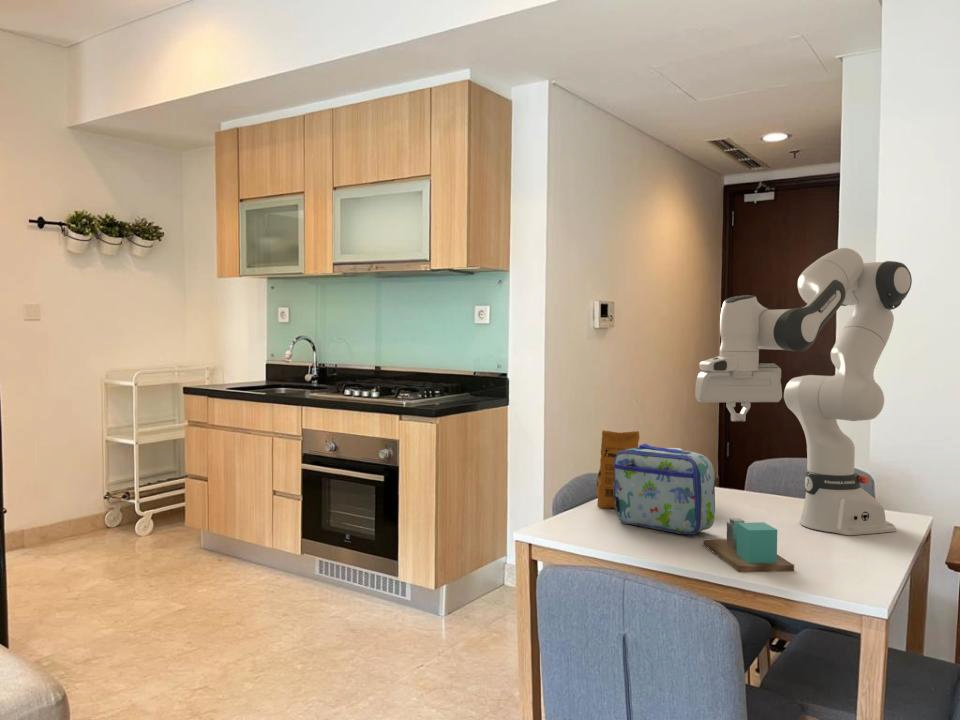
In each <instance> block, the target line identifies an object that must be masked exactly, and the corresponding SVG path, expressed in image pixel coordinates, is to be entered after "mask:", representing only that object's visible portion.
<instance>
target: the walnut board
mask: <svg viewBox="0 0 960 720" xmlns="http://www.w3.org/2000/svg"><path fill="white" fill-rule="evenodd" d="M702 541H703V543H702V545H703V544H704V545H705V546H706V548H707V547H708V548H709V549H710V550H709V549H708V548H707V549H708V550H709V551H710V552H712V551H713V552H714V553H713V552H712V553H713V554H715V555H716V556H717V555H718V556H719V558H720V559H721V560H722V561H724V563H726V564H728V565H729V566H730V567H731V568H732V569H734V570H735V571H737V572H738V573H750V572H751V573H754V572H755V573H756V572H757V573H759V572H789V571H790V572H793V571H795V564H793V563H791V562H790V561H788V560H786V559H785V558H783V557H782V556H781V555H779V554H777V563H747V562H746V561H745V560H743V559H742V558H740V557H739V556H738V555H736V554H737V548H732V547H731V546H730V545H728V544H727V538H724V539H723V538H720V539H703V540H702ZM704 545H703V546H704ZM705 546H704V547H705ZM718 556H717V557H718Z"/></svg>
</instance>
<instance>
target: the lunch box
mask: <svg viewBox="0 0 960 720" xmlns="http://www.w3.org/2000/svg"><path fill="white" fill-rule="evenodd" d="M669 448H670V447H658V446H651V445H650V444H647V443H642V444H638V447H637V448H633V449H627V450H622V451H619V452H618V453H617V454H616V456H615V460H614V471H615V476H614V483H613V485H614V492H613V501H615V508H614V510H615V512H616V515H617V517H618V519H619V521H620V523H622V524H624V525H630V524H631V525H630V526H638V527H643V528H648V529H653V530H658V531H664V532H669V533H675V534H680V535H688V536H689V535H690V536H692V535H696V534H697V533H699V532H702V531H705V530H709V529H710V528H711V527H713V525H714V521H715V516H716V515H715V513H716V508H715V507H716V500H715V499H716V494H715V492H716V490H715V489H716V488H715V486H716V485H715V471H714V470H715V469H714V466H713V463H712V462H711V460H710V459H709V458H708V457H707V456H705V455H703V454H701V453H698V452H694V451H689V450H683V449H682V450H677V449H669Z"/></svg>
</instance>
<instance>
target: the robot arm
mask: <svg viewBox="0 0 960 720" xmlns="http://www.w3.org/2000/svg"><path fill="white" fill-rule="evenodd" d="M912 283H913V279H912V274H911V272H910V269H909V268H908V266H907V265H906V264H905V263H902V262H900V261H892V260H885V261H881V262H880V261H879V262H877V261H876V262H875V261H874V262H864V260H863V258H862V256H861V254H859V253H858V252H857V251H855V250H854V249H851V248H848V247H841V248H837V249H834V250H832V251H831V252H828V253H826V254H824V255H823V256H820V257H819V258H818V259H816V260H815V261H814V262H812V263H811V264H810V265H808V266H807V267H806V268H805V269H804V270H803V271H802V272H801V273H800V275H799V276H798V279H797V290H798V294H799V296H800V297H801V299H802V300H803V301H804V302H805V303H806V305H805V306H802V307H796V308H788V309H787V308H786V309H768V308H767V307H765V306H764V305H762V304H760V302H759V301H758V299H757V296H755V295H752V294H744V295H735V296H731V297H728V298H726V299H725V300H724V301H723V303H722V307H721V311H720V318H719V319H720V320H719V335H720V338H721V343H720V346H719V355H717V356H715V357H712V358H709V359H706V360H702V361H700V362H699V370H701V371H700V372H699V373H698V374H697V376H696V379H695V388H694V390H695V391H694V399H696V401H697V402H699V403H711V404H712V403H726V404H725V405H726V408H727V410H728V412H729V413H730V421H731V422H746V417H747V416H746V415H747V413H748V412H749V411H750V409H751V403H779V402H780V401H781V400H782V398H783V400H784V402H785V405H786V407H787V408H788V409H789V410H790V411H791V412H792V413H793V414H794V415H795V417H796V418H797V419H798V421H799V423H800V425H801V428H802V430H803V433H804V436H805V441H806V453H807V454H806V455H807V458H806V459H807V460H806V461H807V462H806V463H807V467H806V468H807V469H805V473H804V488H805V489H804V490H805V499H804V504H803V509H802V512H801V517H800V520H799V524H800V525H801V526H803V527H806V528H808V529H812V530H817V531H821V532H826V533H827V532H828V533H833V534H836V533H837V534H839V535H840V534H841V535H844V536H858V535H867V534H868V535H870V534H871V535H872V534H880V533H881V534H882V533H891V532H893V533H894V532H896V531H897V530H896V526H895V524H893V523H891V522H889V521H887V520H886V512H885V509H884V506H883V504H882V503H881V502H880V501H879V500H877V499H876V498H874V497H873V496H872V495H871V494H869V493H868V492H867V491H866V490H864V489H863V488H862V487H861V484H863V485H868V484H869V483H870V481H871V480H870V478H869V476H866V475H862V474H860V475H859V474H857V473H856V472H855V453H856V452H855V449H856V448H855V444H854V441H853V440H852V439H851V437H850V436H848V435H846V434H845V433H844V432H843V431H842V430H841V428H840V427H839V424H838V421H837V420H841V421H850V422H858V421H869V420H874V419H876V418H877V417H878V416H879V415H880V413H881V412H882V411H883V409H884V405H885V395H884V392H883V390H882V388H881V385H879V384H878V383H877V382H876V381H875V377H874V375H875V374H874V372H875V369H876V366H877V364H878V362H879V359H880V358H881V355H882V353H883V351H884V349H885V347H886V345H887V343H888V341H889V339H890V336H891V333H892V330H893V326H894V321H895V317H894V314H893V312H892V310H895V309H896V308H899V307H900V306H901V304H902V302H903V301H904V300H905V298H907V295H908V294H909V292H910V290H911V288H912ZM841 306H842V307H846V306H854V307H853V308H854V309H853V313H852V315H851V317H850V318H849V319H848V321H847V322H846V323H845V325H844V326H843V328H842V330H841V332H840V334H839V335H838V337H837V339H836V341H835V343H834V345H833V347H832V348H831V350H830V360H831V362H832V364H833V366H834V367H835V368H836V369H837V371H838V372H837V373H836V374H834V375H817V374H816V375H815V374H807V375H801V376H796V377H793V378H791V379H790V380H789V381H788V382H787V383H786V384H785V385H786V386H785V388H784V392H783V391H782V390H783V389H782V383H781V379H782V369H781V367H780V366H779V365H777V364H776V363H773V362H772V363H763V362H762V363H761V362H759V360H760V359H759V357H760V356H759V355H760V353H759V352H760V350H774V351H776V350H779V351H781V350H782V351H790V352H797V353H798V352H799V353H800V352H804V351H807V350H808V349H809V348H811V346H813V344H814V343H815V342H816V340H817V338H818V336H819V333H820V331H821V330H822V329H823V327H824V326H825V325H826V324H827V322H828V321H830V320H831V318H832V317H833V316H834V314H835V313H836V312H837V311H838V310H839V309H840V308H841ZM736 403H740V406H741V407H742V408H741V410H740V412H739V413H737V412H736V411H735V407H736Z"/></svg>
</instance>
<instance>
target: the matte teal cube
mask: <svg viewBox="0 0 960 720" xmlns="http://www.w3.org/2000/svg"><path fill="white" fill-rule="evenodd" d="M736 555H738V556H739V557H740V558H742V559H743V560H745V561H746V562H747V563H777V555H778V529H777V528H775V527H773V526H771V525H770V524H768V523H766V522H764V521H763V522H761V521H760V522H757V521H756V522H744V523H737V554H736Z"/></svg>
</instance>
